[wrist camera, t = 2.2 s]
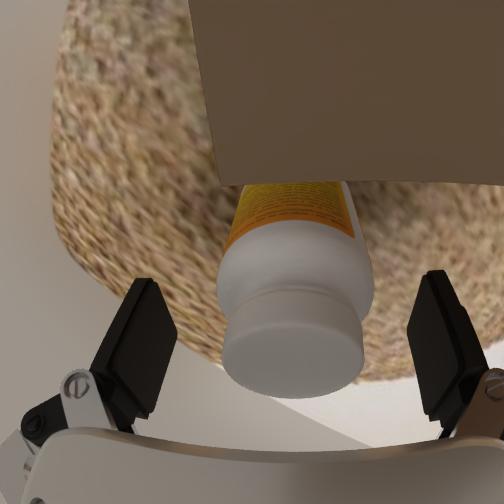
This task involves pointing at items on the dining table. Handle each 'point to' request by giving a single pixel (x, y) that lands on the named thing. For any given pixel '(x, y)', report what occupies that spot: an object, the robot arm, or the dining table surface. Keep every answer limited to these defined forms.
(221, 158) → the drop box
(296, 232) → the supplement bottle
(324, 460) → the robot arm
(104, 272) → the dining table surface
